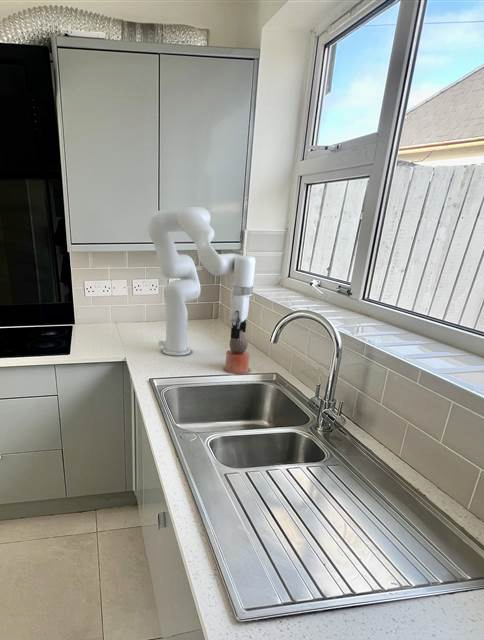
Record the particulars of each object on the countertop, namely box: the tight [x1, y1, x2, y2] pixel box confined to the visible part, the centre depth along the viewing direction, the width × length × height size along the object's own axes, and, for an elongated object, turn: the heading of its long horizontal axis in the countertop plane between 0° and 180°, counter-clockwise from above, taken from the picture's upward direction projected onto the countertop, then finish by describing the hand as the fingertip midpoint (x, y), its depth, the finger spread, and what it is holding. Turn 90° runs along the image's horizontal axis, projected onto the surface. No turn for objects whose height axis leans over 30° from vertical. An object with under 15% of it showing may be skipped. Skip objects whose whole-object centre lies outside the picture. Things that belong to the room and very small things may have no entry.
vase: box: [229, 330, 249, 354], centre depth 158 cm, size 7×7×9 cm
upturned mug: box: [224, 349, 250, 375], centre depth 162 cm, size 12×9×7 cm
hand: (238, 335), depth 157 cm, fingers open, 9 cm apart
